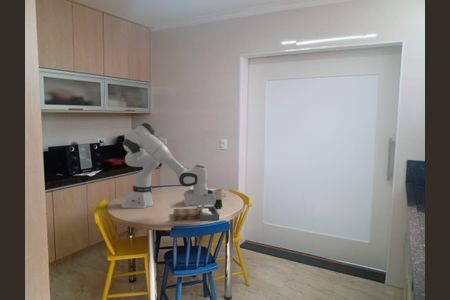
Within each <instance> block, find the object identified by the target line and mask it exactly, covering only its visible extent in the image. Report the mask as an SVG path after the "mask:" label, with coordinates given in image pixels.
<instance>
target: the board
mask: <svg viewBox="0 0 450 300" xmlns="http://www.w3.org/2000/svg"><path fill="white" fill-rule="evenodd" d="M173 219H174V222H178V221H179V222H180V221H197V220H198V221H200V214H199V212H198V209H197V207H195V208H194V207H193V208H192V207H191V208H174V209H173Z"/></svg>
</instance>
